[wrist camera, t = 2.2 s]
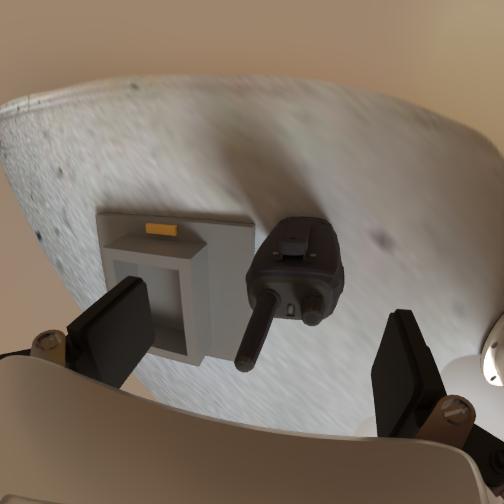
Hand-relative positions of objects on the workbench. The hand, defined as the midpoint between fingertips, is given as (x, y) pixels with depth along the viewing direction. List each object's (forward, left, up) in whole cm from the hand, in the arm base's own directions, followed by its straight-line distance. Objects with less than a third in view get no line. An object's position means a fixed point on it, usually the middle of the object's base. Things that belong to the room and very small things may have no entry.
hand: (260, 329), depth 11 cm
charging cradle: (+11, +7, -14) cm, 19 cm away
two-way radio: (-1, 0, -14) cm, 14 cm away
